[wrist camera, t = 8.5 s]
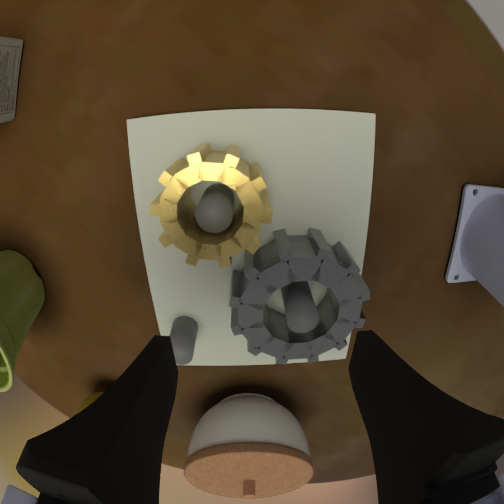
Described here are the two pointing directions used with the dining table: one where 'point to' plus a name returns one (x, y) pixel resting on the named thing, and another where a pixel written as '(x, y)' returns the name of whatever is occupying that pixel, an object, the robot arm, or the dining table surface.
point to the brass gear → (183, 207)
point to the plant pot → (16, 309)
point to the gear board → (284, 216)
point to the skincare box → (9, 76)
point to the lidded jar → (248, 449)
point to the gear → (283, 273)
